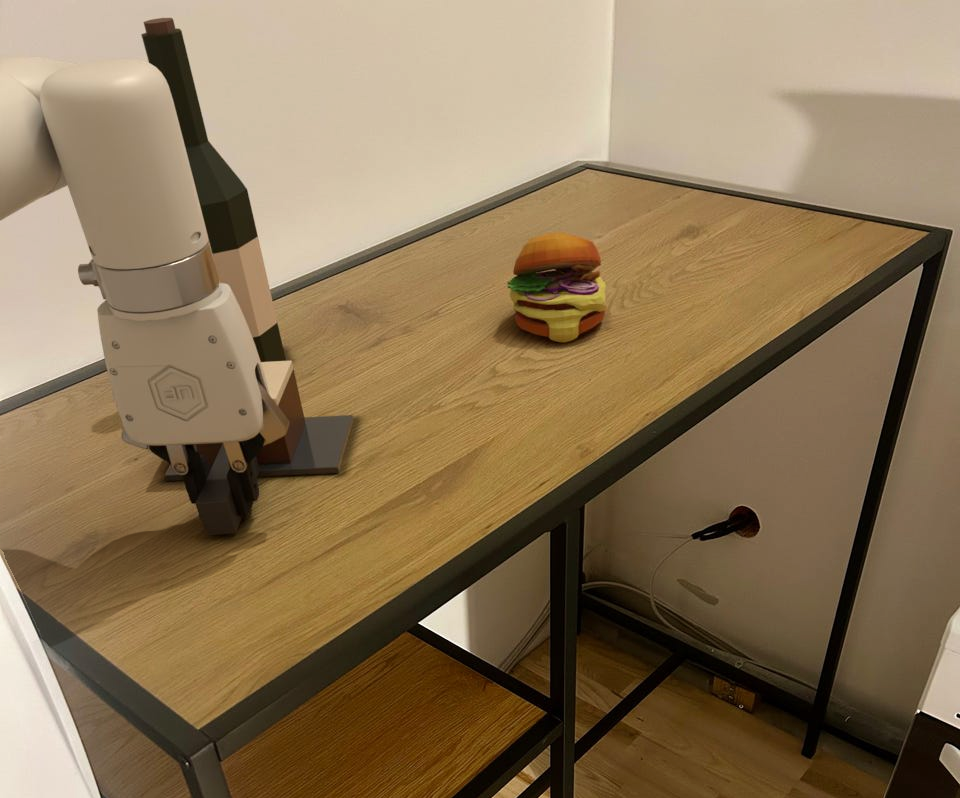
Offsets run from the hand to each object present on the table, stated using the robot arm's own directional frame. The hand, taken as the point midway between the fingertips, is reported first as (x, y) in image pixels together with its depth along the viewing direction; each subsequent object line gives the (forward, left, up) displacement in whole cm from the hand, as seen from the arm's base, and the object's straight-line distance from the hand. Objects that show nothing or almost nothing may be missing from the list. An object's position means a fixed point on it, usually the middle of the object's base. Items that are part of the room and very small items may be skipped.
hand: (228, 506), depth 76 cm
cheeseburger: (+27, +34, -1) cm, 43 cm away
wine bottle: (-5, +28, -1) cm, 29 cm away
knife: (0, +6, 0) cm, 6 cm away
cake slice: (+2, +10, 0) cm, 11 cm away
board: (0, +10, -1) cm, 11 cm away
